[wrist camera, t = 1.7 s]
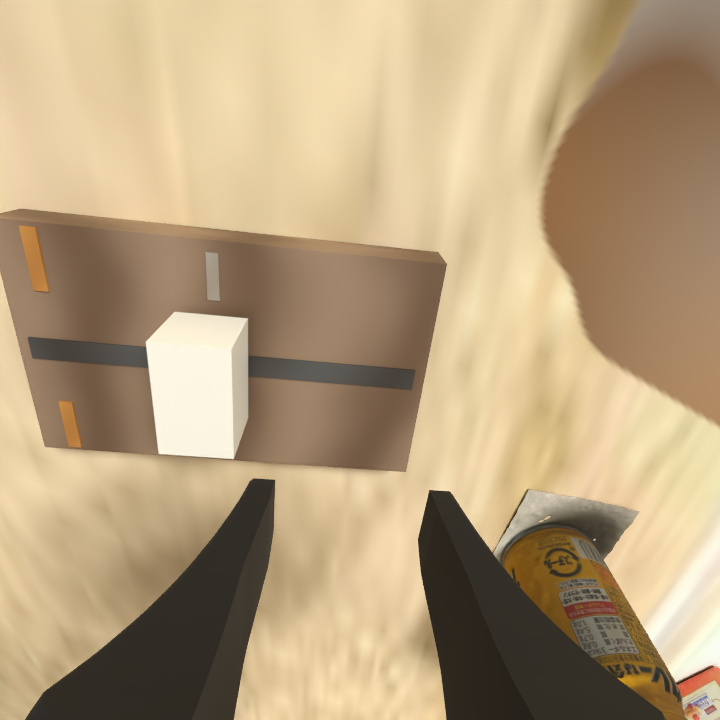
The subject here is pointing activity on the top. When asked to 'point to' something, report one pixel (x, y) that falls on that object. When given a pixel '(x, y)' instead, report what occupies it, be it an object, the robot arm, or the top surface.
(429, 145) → the top surface
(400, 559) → the top surface
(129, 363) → the fader board
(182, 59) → the top surface
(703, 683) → the cracker box
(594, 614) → the condiment
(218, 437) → the fader tab
